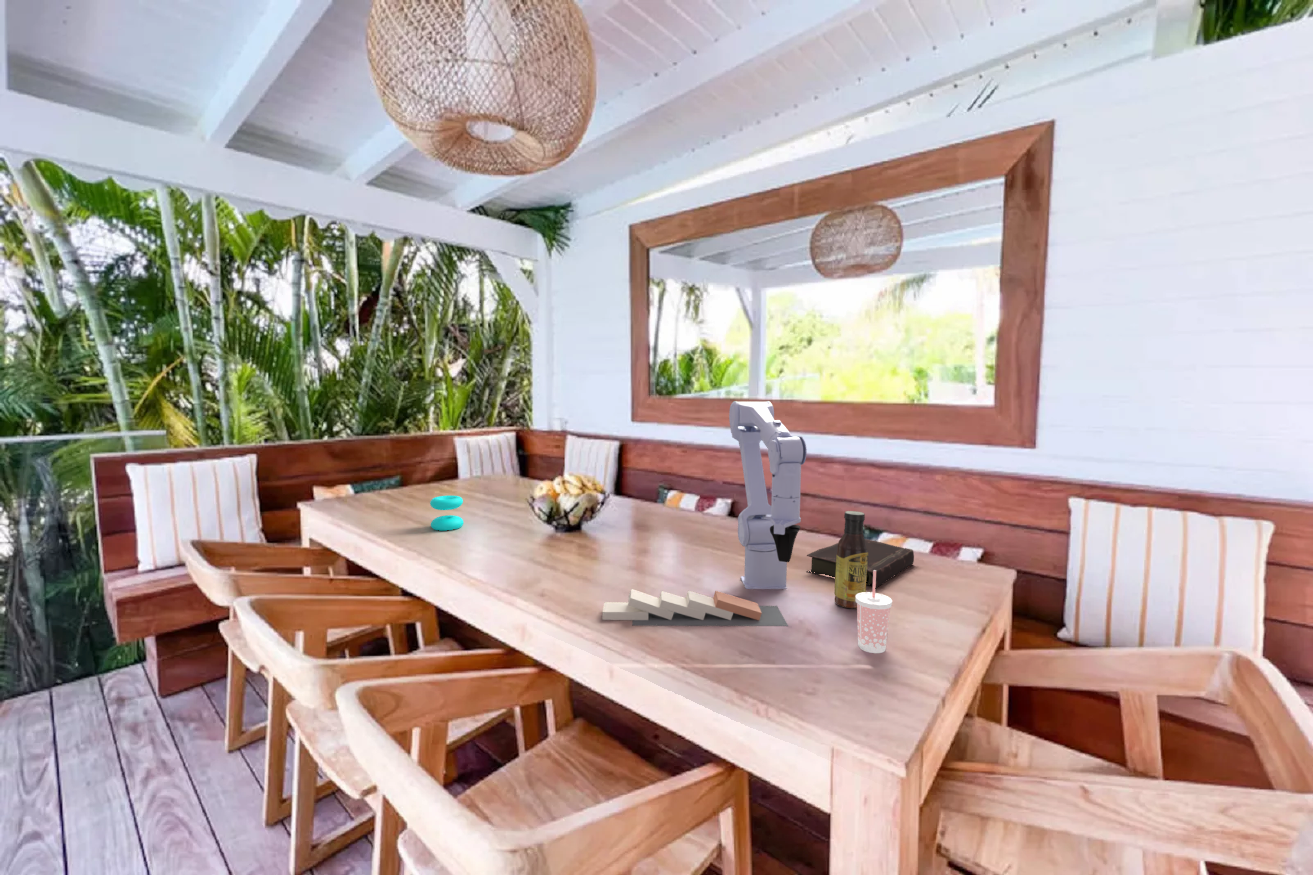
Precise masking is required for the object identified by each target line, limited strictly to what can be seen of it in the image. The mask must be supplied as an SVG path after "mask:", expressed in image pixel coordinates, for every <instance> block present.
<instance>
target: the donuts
mask: <svg viewBox="0 0 1313 875" xmlns="http://www.w3.org/2000/svg"><path fill="white" fill-rule="evenodd" d="M463 503H464V500H463V497H461V496H459V495H440V496H439V495H438V496H436V497H432V499H431V500H430V501H429V504H430V506H431V508H432V509H434V510H438V511H451V510H455V509H458V508H460V507H461V506H463ZM463 526H464V519H463V518H462V517H460V516H459V515H454V514H453V515H451V514H448V515H441V516H438V517H437V516H436V517H435V518H433V519H432V520H431V522H430V527H431V529H432V530H434V531H438V530H439V531H440V532H444V531H445V532H446V531H447V530H449V531H454V530H453V529H455V530H459V529H460V528H462V527H463ZM447 532H448V531H447Z"/></svg>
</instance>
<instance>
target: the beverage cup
mask: <svg viewBox="0 0 1313 875" xmlns="http://www.w3.org/2000/svg"><path fill="white" fill-rule="evenodd" d="M875 587H876V570H873V583H872V590H871V592H870V591H866V592H862V593H858V594H857V595H856V596H855V597H856V603H857V608H856V612H857V613H856V614H857V618H856V620H857V646H858V648H860V650H862V651H864V652H867V653H870V654H871V653H873V654H881V653H885V652H886V647H887V640H888V639H887V637H888V631H889V621H890V620H889V619H890V612H891V608H892V606H893V600H892V598H891V597H890V596H888V595H885V594H883V593H878V592H876V589H875Z"/></svg>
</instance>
